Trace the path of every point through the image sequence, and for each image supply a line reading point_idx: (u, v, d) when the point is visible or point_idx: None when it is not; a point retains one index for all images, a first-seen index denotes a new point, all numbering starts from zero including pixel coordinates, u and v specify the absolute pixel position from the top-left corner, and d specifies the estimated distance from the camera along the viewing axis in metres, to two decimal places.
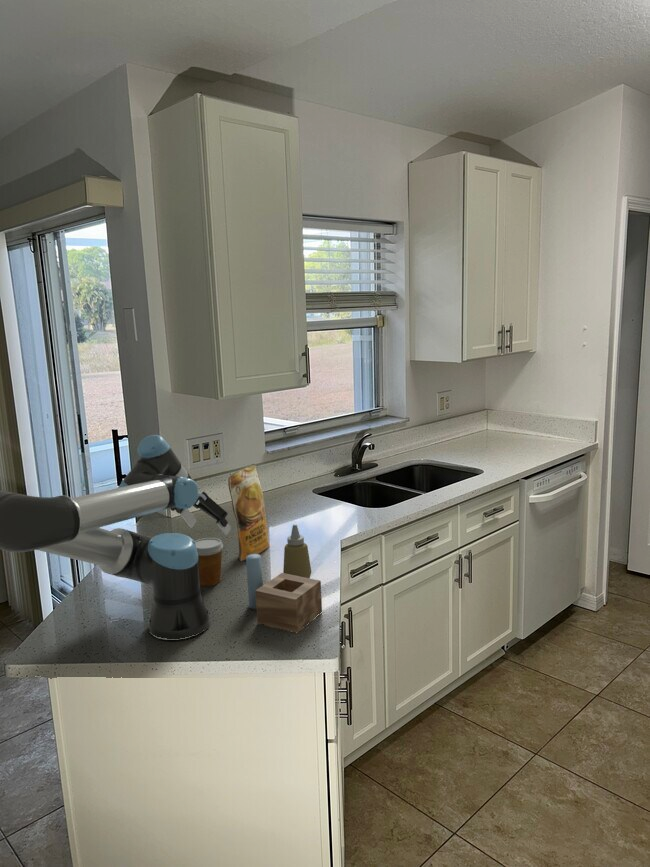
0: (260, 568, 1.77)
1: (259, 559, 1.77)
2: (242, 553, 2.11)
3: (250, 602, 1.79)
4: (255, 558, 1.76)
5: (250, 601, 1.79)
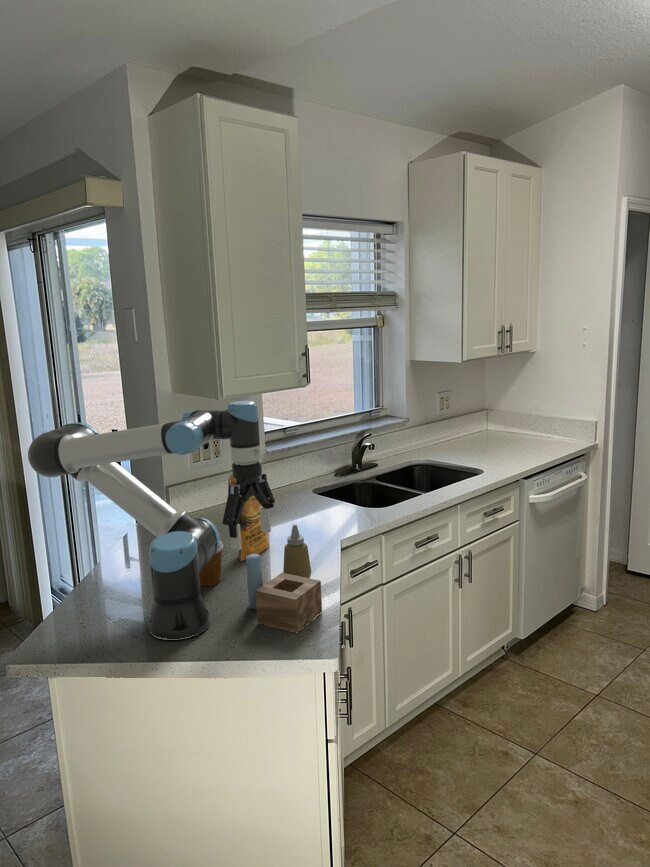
0: (260, 568, 1.77)
1: (259, 559, 1.77)
2: (242, 553, 2.11)
3: (250, 602, 1.79)
4: (255, 558, 1.76)
5: (250, 601, 1.79)
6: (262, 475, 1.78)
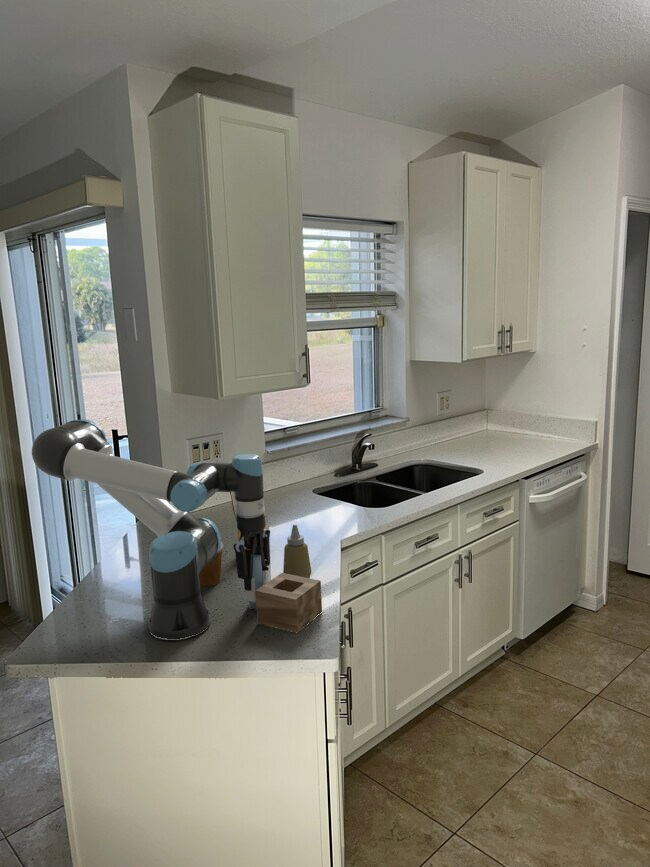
0: (260, 568, 1.77)
1: (259, 559, 1.77)
2: None
3: (250, 602, 1.79)
4: (255, 558, 1.76)
5: (250, 601, 1.79)
6: (266, 530, 1.81)
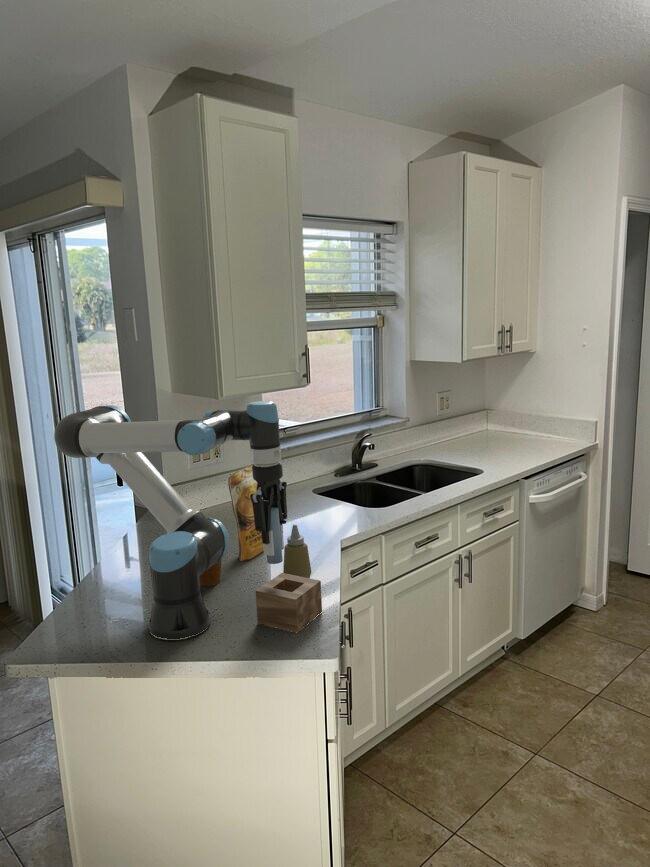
0: (278, 520, 1.70)
1: (277, 511, 1.70)
2: (242, 553, 2.11)
3: (268, 557, 1.72)
4: (272, 510, 1.69)
5: (268, 556, 1.72)
6: (283, 482, 1.74)
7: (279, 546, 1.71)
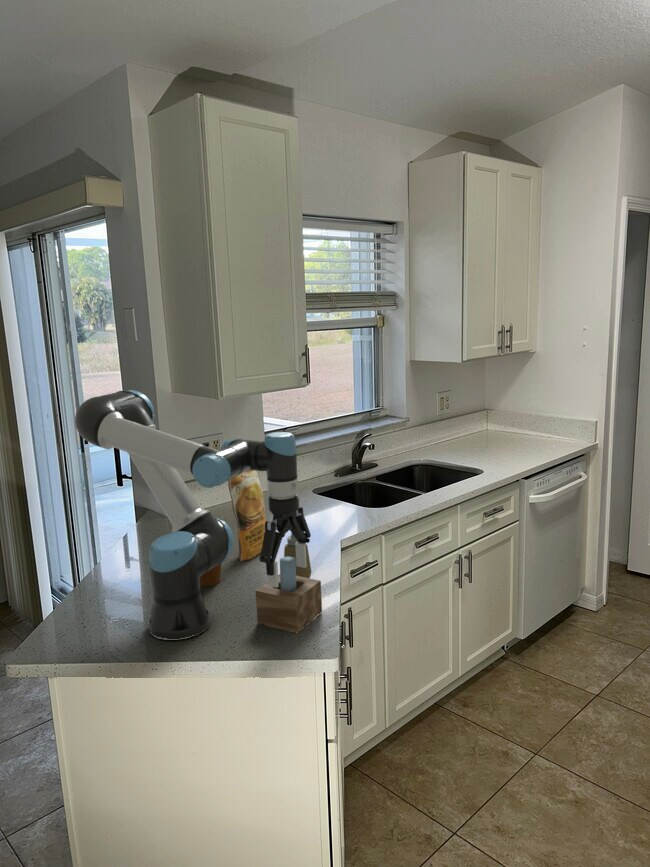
0: (294, 571, 1.69)
1: (294, 562, 1.69)
2: (242, 553, 2.11)
3: None
4: (289, 561, 1.68)
5: None
6: (299, 508, 1.72)
7: None
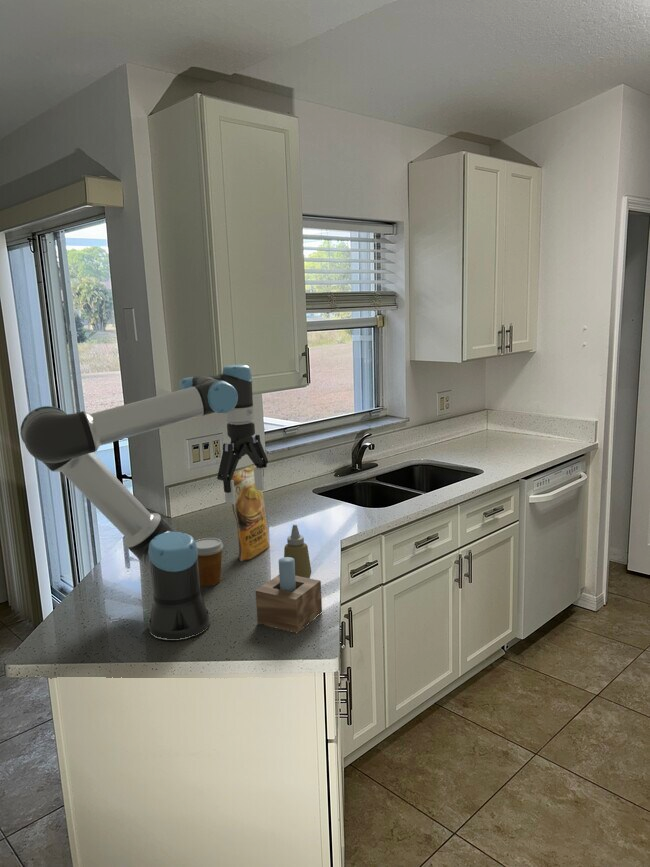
0: (293, 572, 1.69)
1: (292, 563, 1.68)
2: (242, 553, 2.11)
3: None
4: (288, 562, 1.68)
5: None
6: (256, 436, 1.89)
7: None
